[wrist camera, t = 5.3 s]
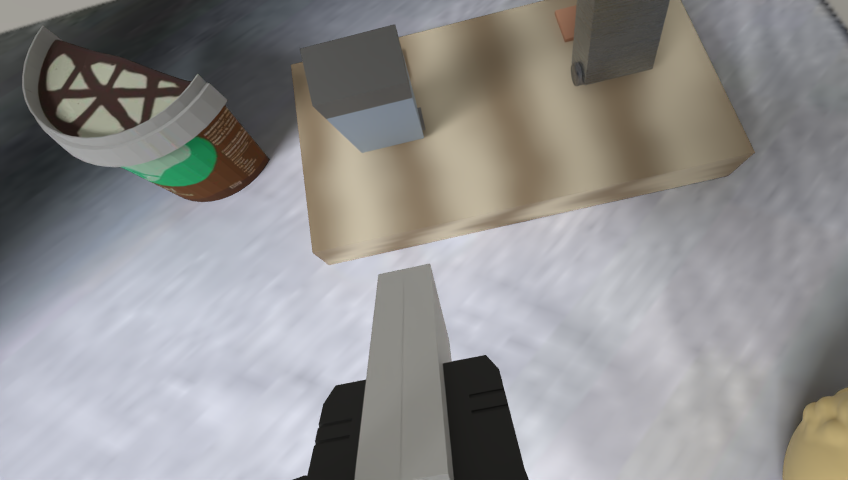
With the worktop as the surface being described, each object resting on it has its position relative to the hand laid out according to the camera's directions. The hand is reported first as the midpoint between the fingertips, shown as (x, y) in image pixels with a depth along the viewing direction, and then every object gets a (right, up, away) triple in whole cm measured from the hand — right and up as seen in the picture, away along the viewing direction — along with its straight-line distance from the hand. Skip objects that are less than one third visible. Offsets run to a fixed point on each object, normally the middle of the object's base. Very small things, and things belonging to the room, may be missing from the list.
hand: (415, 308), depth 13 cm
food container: (-16, +7, +21) cm, 27 cm away
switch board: (+5, +10, +18) cm, 21 cm away
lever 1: (-2, +9, +16) cm, 18 cm away
